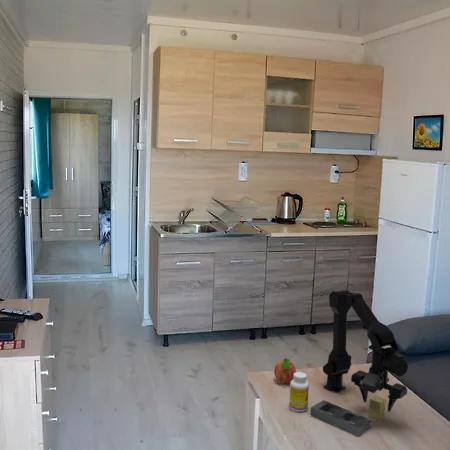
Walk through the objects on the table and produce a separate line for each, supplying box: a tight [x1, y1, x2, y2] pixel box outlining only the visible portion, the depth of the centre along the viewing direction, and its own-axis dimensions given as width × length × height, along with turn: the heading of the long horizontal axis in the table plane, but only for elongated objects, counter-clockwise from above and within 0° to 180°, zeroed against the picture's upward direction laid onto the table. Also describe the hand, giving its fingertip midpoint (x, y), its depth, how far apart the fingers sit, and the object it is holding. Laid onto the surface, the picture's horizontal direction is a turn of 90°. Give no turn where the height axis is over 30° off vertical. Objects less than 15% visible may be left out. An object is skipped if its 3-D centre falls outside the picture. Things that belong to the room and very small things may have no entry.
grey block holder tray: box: [309, 399, 372, 437], centre depth 183 cm, size 8×19×3 cm, turn 46°
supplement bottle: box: [288, 371, 310, 413], centre depth 190 cm, size 7×7×13 cm
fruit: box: [273, 357, 297, 384], centre depth 212 cm, size 9×10×10 cm
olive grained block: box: [368, 394, 387, 423], centre depth 186 cm, size 4×4×7 cm
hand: (376, 406), depth 186 cm, fingers open, 9 cm apart
